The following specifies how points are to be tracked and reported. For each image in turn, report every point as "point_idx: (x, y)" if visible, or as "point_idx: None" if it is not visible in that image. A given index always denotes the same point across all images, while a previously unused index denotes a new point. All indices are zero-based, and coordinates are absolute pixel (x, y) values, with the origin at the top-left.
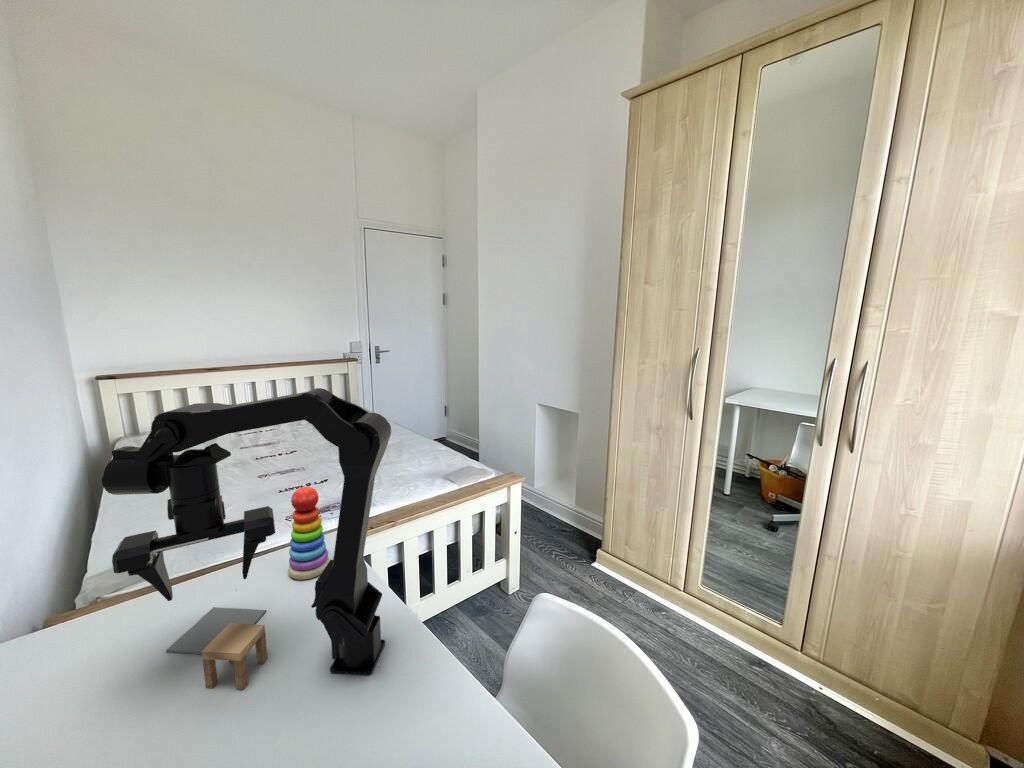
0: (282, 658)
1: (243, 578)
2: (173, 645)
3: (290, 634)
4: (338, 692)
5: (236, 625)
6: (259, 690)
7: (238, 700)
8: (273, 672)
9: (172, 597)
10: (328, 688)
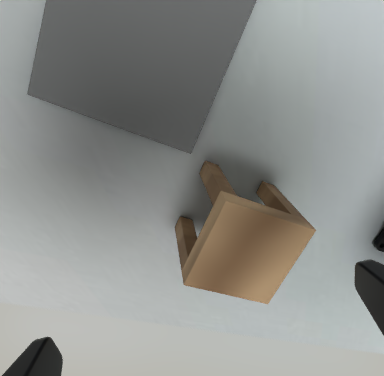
0: (300, 190)
1: (360, 296)
2: (37, 80)
3: (318, 121)
4: None
5: (245, 214)
6: None
7: None
8: None
9: (53, 342)
10: None
